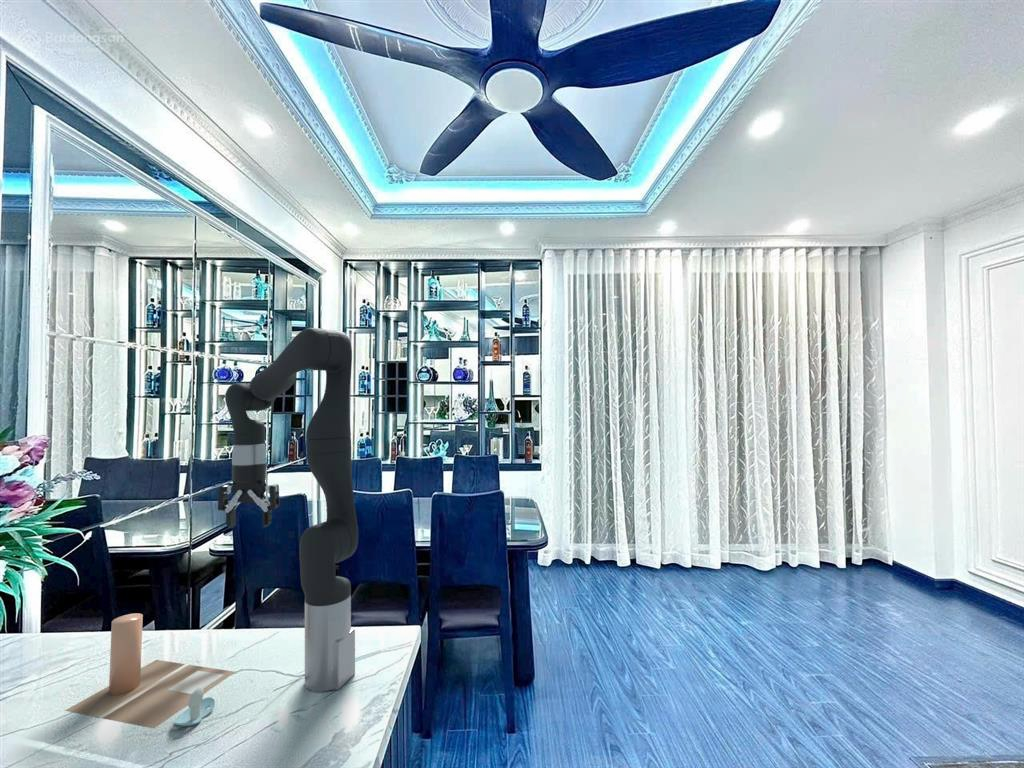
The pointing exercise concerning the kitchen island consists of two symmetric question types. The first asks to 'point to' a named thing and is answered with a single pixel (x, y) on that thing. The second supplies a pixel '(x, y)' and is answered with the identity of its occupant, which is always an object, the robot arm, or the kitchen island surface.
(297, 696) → the kitchen island surface
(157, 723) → the board
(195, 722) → the pacifier
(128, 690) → the cylinder
